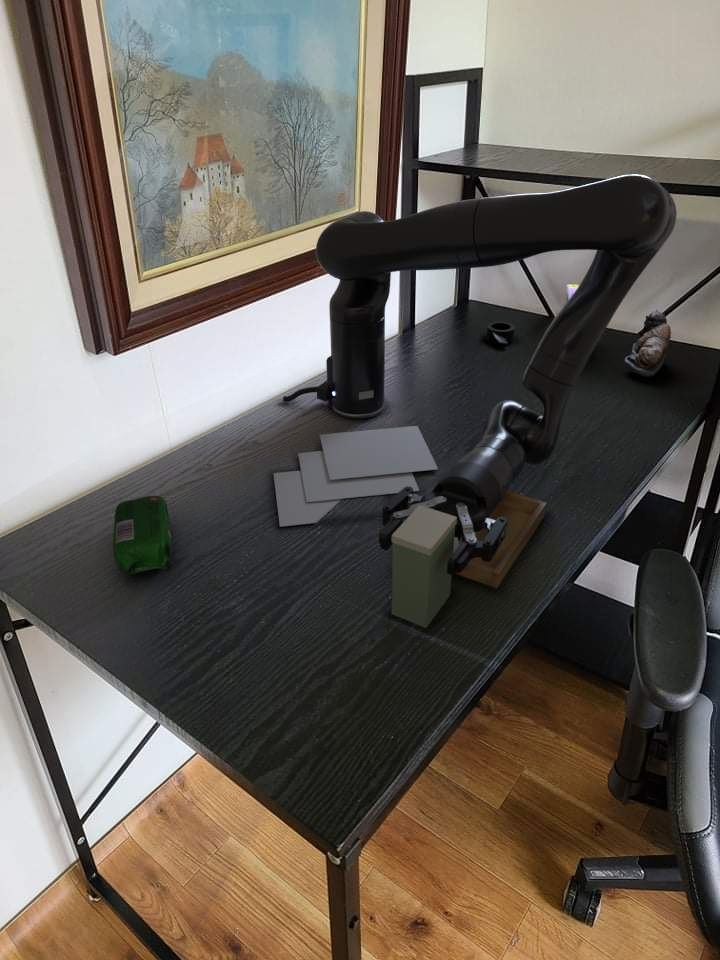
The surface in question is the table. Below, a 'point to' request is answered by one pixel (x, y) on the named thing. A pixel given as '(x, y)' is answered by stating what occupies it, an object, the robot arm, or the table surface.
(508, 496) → the desk tray
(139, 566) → the snack package
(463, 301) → the table surface
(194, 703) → the table surface
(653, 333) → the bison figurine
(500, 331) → the duct tape
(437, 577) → the green lidded canister
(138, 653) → the table surface
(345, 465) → the paper stack
